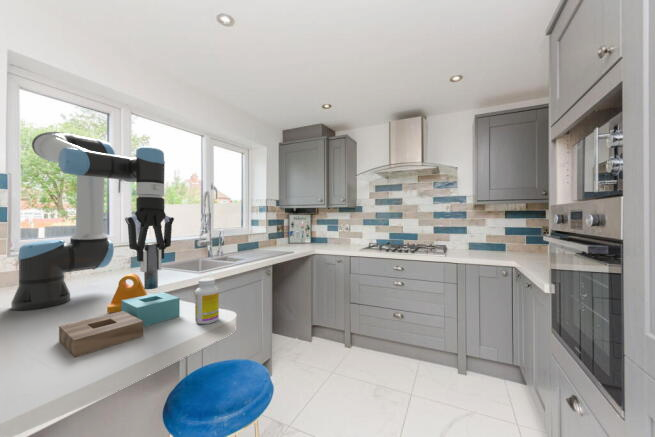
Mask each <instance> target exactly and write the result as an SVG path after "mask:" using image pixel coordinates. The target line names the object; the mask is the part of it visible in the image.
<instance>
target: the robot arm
mask: <svg viewBox="0 0 655 437" xmlns="http://www.w3.org/2000/svg"><path fill="white" fill-rule="evenodd" d="M31 149H32V151H33V152H34V154H36V155H37V156H38V157H39V158H41V159H43V160H45V161H47V162H51V163H52V162H54V163H58V168H59V169H60V171H61V172H62V173H63V174H68V175H73V176H76V196H75V197H76V201H75V202H76V204H75V206H76V207H75V233H74V234H73V235H72V236H70V242H65V240H64V239H59V238H58V239H51V240H50V239H49V240H43V241H42V240H41V241H36V242H35V241H34V242H29V243H25V244H23V245H21V246H20V247H19V249H18V257H17V260H18V287H17V289H16V292H15V294H14V295H13V298H12V300H11V304H10V306H11V310H13V311H27V310H29V311H30V310H38V309H44V308H50V307H53V306H58V305H62V304H64V303H68V302H69V301H70V300H71V291H70V290H69V288H68V286H67V283H66V281H65V274H66V273H72V272H81V271H87V270H97V269H103V268H106V267H107V266H108V265H110V263H111V261H112V259H113V257H114V251H115V248H114V243H113V242H112V241H111V240H110V239H108V235H106V234H105V232H104V214H105V212H104V211H105V210H104V208H105V207H104V206H105V179H112V180H113V179H114V180H122V181H124V182H129V183H136V186H135V187H136V189H135V191H136V192H135V193H136V194H135V195H136V196H137V198H136V201H135V203H136V204H135V205H136V211H135V213H134V214H133V215H132V216H127V217H125V218H124V221H125V223H126V225H127V231H128V243H129V244H128V245H129V246H128V248H129V249H130V250H134V251H136V260H137V262H139V263H140V264H139V267H140V268H139V269H140V272H142V273H144V272H147V251H144V246H145V244H146V241H147V234H148V230H149V227H151V226H152V229H153V231H154V237H155V242H156V244H158V271H162V260H163V259H165V250H166V248H168V247H171V244H172V232H173V231H172V230H173V229H172V227H173V222H174V221H175V217H171V216H168V215H167V214H166V213H165V209H166V208H165V207H166V206H165V198H164V197H165V163H166V162H165V154H164V153H165V152H164V151H162V150H161V149H159V148H156V147H150V146H149V147H148V146H141V147H140V146H139V147H137V149H136V152H135V157H128V156H122V155H116V152H115V149H114V147H113V145H112V144H111V143H109V142H108V141H105V140H102V139H98V138H93V137H87V136H81V135H76V134H72V133H67V132H63V131H61V132H59V131H47V132H43V133H40V134H37V135H36V136H35V137H34V138H33V139H32V142H31ZM137 221H138V223H139V233H138V238H137V226H136V223H137ZM163 221H164V229H163V226H162V222H163ZM162 229H163V230H164V231H163V232H162Z"/></svg>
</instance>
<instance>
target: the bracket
mask: <svg viewBox="0 0 655 437" xmlns="http://www.w3.org/2000/svg"><path fill="white" fill-rule="evenodd" d="M127 280H130V281H131V282H133V284H131V285H130V284H128V283H127ZM145 295H148V293H147V290H146V289H144V284H143V282H142V281H141V278H140V276H139V275H137V274H136V273H128V274H125V275H124V276H123V277H122V278H121V279H120V280H119V281H118V286H117V289H116V290H115V293H114V295H113V297H112V300H111V302H110V303H109V304H108V305H107V307H106V312H107V314H112V313H117V312H121V300H126V299H131V298H136V297H141V296H145Z"/></svg>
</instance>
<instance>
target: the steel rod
mask: <svg viewBox="0 0 655 437" xmlns="http://www.w3.org/2000/svg"><path fill="white" fill-rule="evenodd" d="M144 251H147V272H143V273H144V274H143V275H144V277H143V278H144V282H143V283H144V284H143V286H144V289H145V290H153V289H154V290H155V289H158V288H159V270H158V244H157V243H145V246H144Z"/></svg>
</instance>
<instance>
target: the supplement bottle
mask: <svg viewBox="0 0 655 437" xmlns="http://www.w3.org/2000/svg"><path fill="white" fill-rule="evenodd" d="M215 284H216V279H215V277H205V278H200V279H199V280H198V285H199V287H198V288H196V289H195V291H194V293H195V294H194V296H195V297H194V300H195V301H194V302H195V303H194V304H195V306H194V307H195V308H194V309H195V310H194V311H195V313H194V315H195V318H194V319H195V323H196V324H200V325H209V324H212V322H213V323H215V322H216V321H218V320H219V316H220V313H219V312H220V311H219V310H220V309H219V308H220V307H219V306H220V305H219V303H220V302H219V300H220V298H219V296H220V295H219V288H218V286H216V285H215Z"/></svg>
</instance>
